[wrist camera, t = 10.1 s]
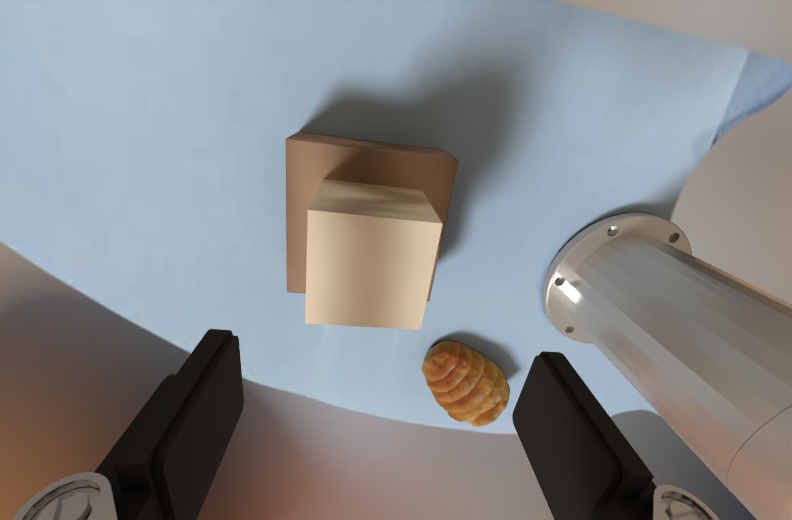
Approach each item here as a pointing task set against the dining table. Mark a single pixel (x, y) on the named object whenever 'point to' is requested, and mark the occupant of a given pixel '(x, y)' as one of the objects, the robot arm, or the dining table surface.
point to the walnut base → (359, 164)
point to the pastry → (466, 383)
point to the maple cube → (369, 255)
